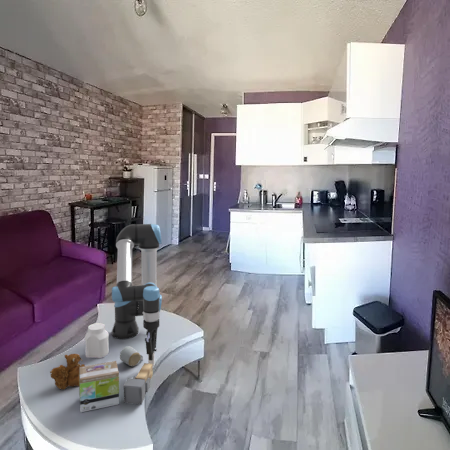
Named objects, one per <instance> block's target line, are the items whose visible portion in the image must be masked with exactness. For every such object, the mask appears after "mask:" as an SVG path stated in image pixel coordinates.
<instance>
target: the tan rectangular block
mask: <svg viewBox="0 0 450 450" xmlns="http://www.w3.org/2000/svg"><path fill="white" fill-rule="evenodd" d="M153 367H154V366H153V364H148V363H147V362H144V363H143V364H142V366H141V368H140V370H139V371H138V373H137V375H136V376H135V377H136V378H135V379H144V380H145V382H146V380H147V379H148V378H150V380H151V379H152V378H153V375H154V373H153V372H154V371H153V370H154V368H153Z"/></svg>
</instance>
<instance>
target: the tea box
mask: <svg viewBox="0 0 450 450" xmlns="http://www.w3.org/2000/svg"><path fill="white" fill-rule="evenodd" d="M118 367H119V366H118V363H117V360H113V361H107V362H102V363H101V362H100V363H97V364H96V363H95V364H90V365H85V366H83V367H79V386H78V388H79V409H80V413H84V412H88V411H93V410H98V409H103V408H107V407H108V408H109V407H113V406H118V405H119V404H120V372H119V368H118Z"/></svg>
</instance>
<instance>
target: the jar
mask: <svg viewBox="0 0 450 450" xmlns="http://www.w3.org/2000/svg"><path fill="white" fill-rule="evenodd" d="M84 343H85V345H84V347H85V352H84V353H85V354H84V355H85V358H87V359H95V358H96V359H102V358H105V357H106V356H108V355H109V353H110V350H109V343H110V342H109V332H108V331H107V330H106V324H104V323H102V322H95V323H91V324H90V325H88V327H87V332H86V334H85V335H84Z"/></svg>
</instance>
